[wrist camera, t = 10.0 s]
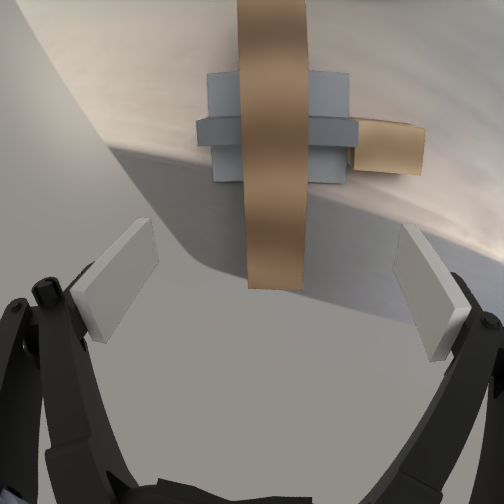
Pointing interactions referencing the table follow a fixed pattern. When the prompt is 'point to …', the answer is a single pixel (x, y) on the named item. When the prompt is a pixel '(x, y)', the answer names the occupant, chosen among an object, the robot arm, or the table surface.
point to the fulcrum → (319, 133)
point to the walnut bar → (274, 139)
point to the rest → (387, 147)
